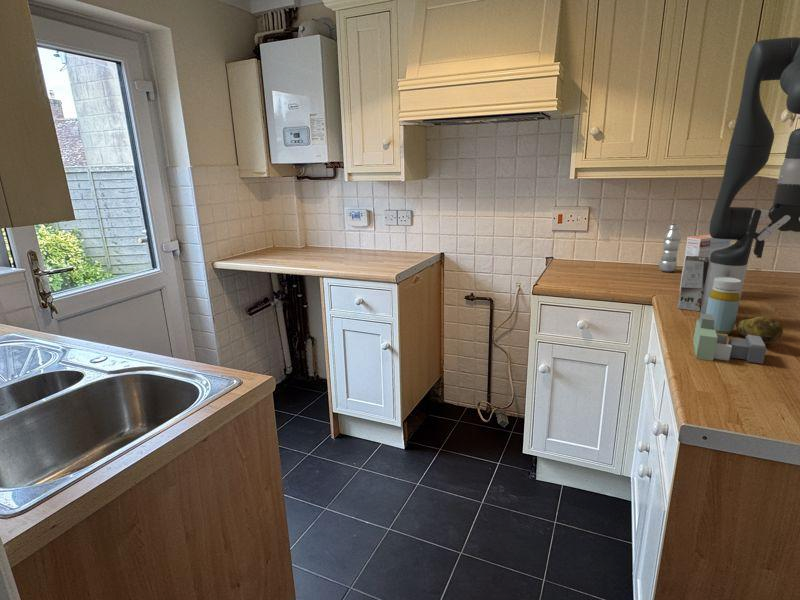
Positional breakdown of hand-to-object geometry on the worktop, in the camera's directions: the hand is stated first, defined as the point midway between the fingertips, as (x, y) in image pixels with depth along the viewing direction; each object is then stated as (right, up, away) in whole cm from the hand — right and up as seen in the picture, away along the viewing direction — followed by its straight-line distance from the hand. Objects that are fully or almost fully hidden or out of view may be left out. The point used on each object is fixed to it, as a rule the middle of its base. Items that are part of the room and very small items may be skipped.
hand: (782, 259), depth 102 cm
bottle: (+7, -18, +31) cm, 37 cm away
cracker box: (+25, -7, +68) cm, 72 cm away
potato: (+11, -20, +23) cm, 32 cm away
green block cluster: (-4, -22, +17) cm, 28 cm away
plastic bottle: (+32, +3, +101) cm, 106 cm away
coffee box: (+13, -11, +53) cm, 56 cm away
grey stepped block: (+2, -22, +14) cm, 27 cm away
